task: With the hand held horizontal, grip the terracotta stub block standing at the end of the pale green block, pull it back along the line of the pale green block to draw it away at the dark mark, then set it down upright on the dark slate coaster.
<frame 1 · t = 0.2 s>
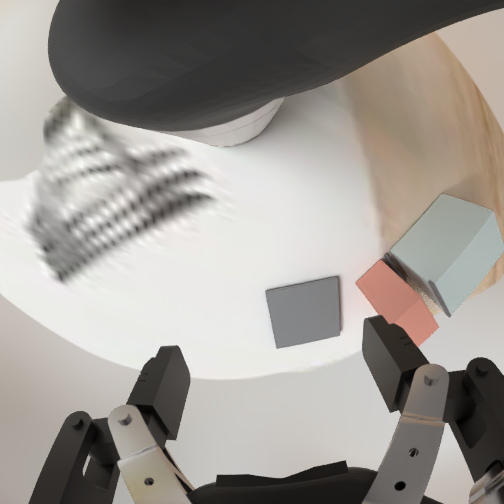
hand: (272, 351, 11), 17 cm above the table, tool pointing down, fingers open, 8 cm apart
pale green block: (427, 237, 27), on the table
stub: (379, 285, 30), on the table
coaster: (305, 313, 31), on the table
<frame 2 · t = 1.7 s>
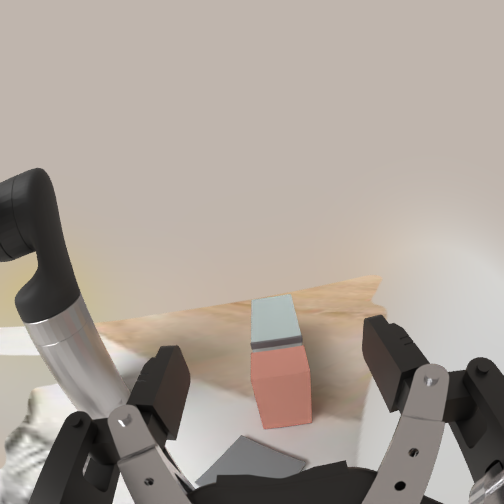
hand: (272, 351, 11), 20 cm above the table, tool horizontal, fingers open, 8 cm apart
pale green block: (281, 367, 36), on the table
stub: (286, 413, 28), on the table
coaster: (250, 477, 20), on the table
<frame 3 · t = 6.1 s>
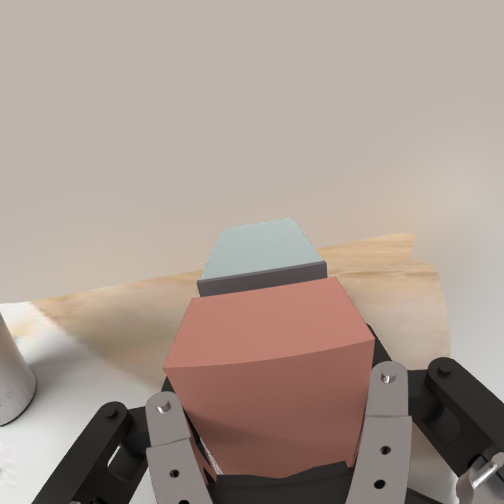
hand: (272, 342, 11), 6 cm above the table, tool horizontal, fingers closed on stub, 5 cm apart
pale green block: (277, 357, 19), on the table
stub: (288, 453, 11), on the table, touching gripper
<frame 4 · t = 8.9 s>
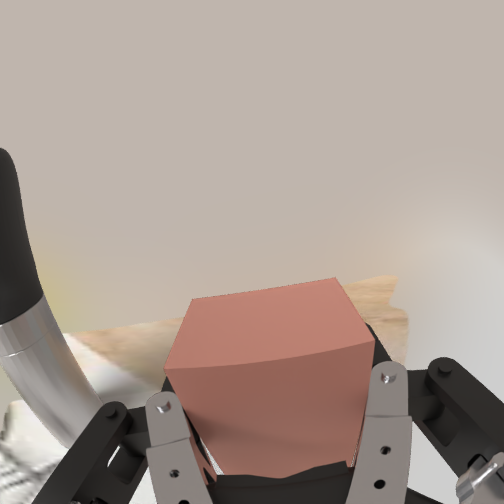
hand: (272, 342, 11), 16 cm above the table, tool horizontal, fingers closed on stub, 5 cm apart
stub: (288, 454, 11), point 10 cm above the table, touching gripper
when the fingers open (8 cm above the table, at t = 11.8 s): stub drops 1 cm, resting on coaster.
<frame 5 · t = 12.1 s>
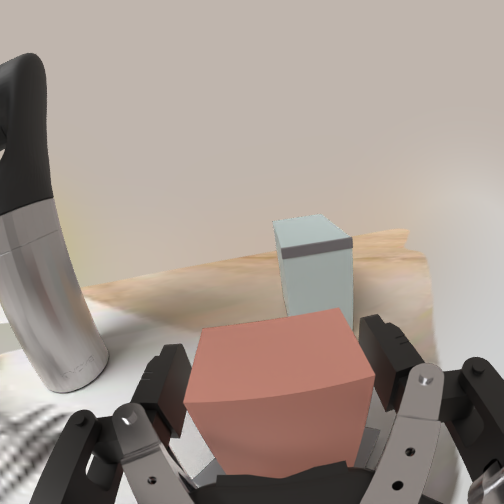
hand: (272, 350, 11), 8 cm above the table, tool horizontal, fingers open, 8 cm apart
pale green block: (313, 311, 28), on the table
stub: (292, 464, 11), point 1 cm above the table, touching coaster
coaster: (290, 467, 11), on the table
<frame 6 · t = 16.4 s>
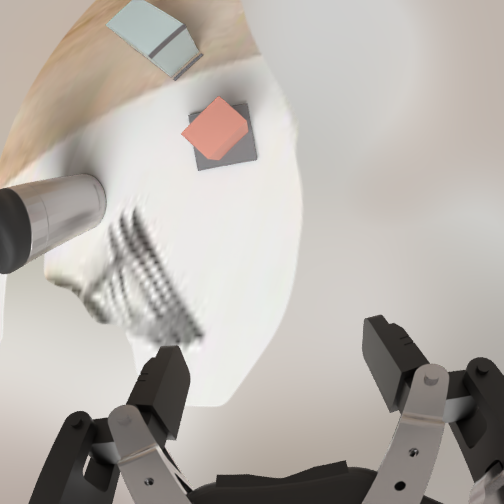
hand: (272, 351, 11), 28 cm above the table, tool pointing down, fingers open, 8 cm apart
pale green block: (163, 48, 29), on the table
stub: (223, 135, 33), point 1 cm above the table, touching coaster
coaster: (222, 136, 34), on the table
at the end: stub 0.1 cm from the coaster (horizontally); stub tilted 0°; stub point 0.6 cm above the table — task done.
